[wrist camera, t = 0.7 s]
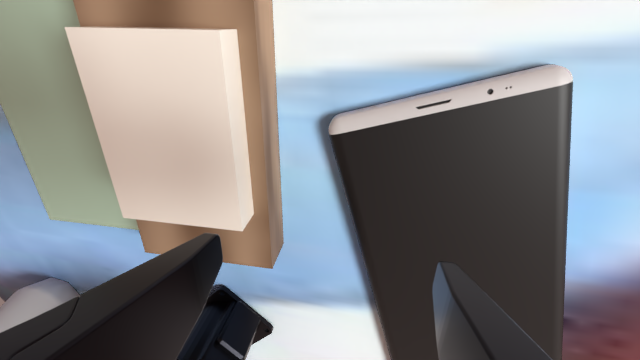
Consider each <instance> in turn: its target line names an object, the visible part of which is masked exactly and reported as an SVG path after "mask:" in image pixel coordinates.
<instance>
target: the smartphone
mask: <svg viewBox="0 0 640 360" xmlns="http://www.w3.org/2000/svg"><path fill="white" fill-rule="evenodd" d="M572 91H573V77H572V74H571V72H570V71H569V70H568V69H567V68H565V67H562V66H558V65H553V64H549V65H544V66H540V67H535V68H531V69H527V70H523V71H518V72H514V73H510V74H506V75H501V76H497V77H493V78H489V79H484V80H480V81H476V82H472V83H467V84H463V85H459V86H455V87H450V88H446V89H442V90H438V91H433V92H429V93H425V94H421V95H416V96H412V97H408V98H404V99H399V100H395V101H391V102H387V103H382V104H378V105H374V106H370V107H365V108H361V109H357V110H353V111H348V112H344V113H340V114H338V115H336V116H335V117H334V118H333V119H332V121H331V122H330V125H329V129H328V131H329V136H330V140H331V143H332V147H333V151H334V154H335V158H336V161H337V165H338V169H339V172H340V176H341V179H342V184H343V188H344V191H345V195H346V198H347V202H348V205H349V208H350V213H351V217H352V220H353V224H354V227H355V231H356V234H357V237H358V241H359V245H360V248H361V252H362V256H363V260H364V263H365V267H366V270H367V273H368V277H369V281H370V284H371V288H372V292H373V295H374V299H375V302H376V306H377V310H378V313H379V317H380V321H381V324H382V328H383V331H384V335H385V339H386V342H387V346H388V349H389V353H390V357H391V360H439V356H438V350H437V341H436V330H435V318H434V306H433V293H432V289H433V282H434V277H435V273H436V269H437V265H438V263H439V262H440V261H446V262H454V263H456V264H457V265H458V266H459V267H460V268H461V269H462V270H463V271H464V272H465V273H466V274H467V275H468V276H469V277H470V278H471V279H472V280H473V281H474V282H475V283H476V284H477V285H478V286H479V287H480V288H481V289H482V290H483V291H484V292H485V293H486V294H487V295H488V296H489V297H490V298H491V299H492V300H493V301H494V302H495V303H496V304H497V305H498V306H499V307H500V308H501V309H502V310H503V311H504V312H505V313H506V314H507V315H508V316H509V317H510V318H511V319H512V320H513V321H514V322H515V323H516V324H517V325H518V326H519V327H520V328H521V329H522V330H523V331H524V332H525V333H526V334H527V335H528V336H529V337H530V338H531V339H532V340H533V341H534V342H535V343H536V344H537V345H538V346H539V347H540V348H541V349H542V350H543V351H544V352H545V353H546V354H547V355H548V356H549V357H550V358H551V359H552V360H562V340H563V315H564V290H565V265H566V240H567V216H568V191H569V166H570V141H571V116H572Z"/></svg>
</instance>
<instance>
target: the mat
mask: <svg viewBox="0 0 640 360" xmlns="http://www.w3.org/2000/svg"><path fill="white" fill-rule="evenodd" d="M65 27H80V23H79V20H78V16H77V13H76V9H75V6H74V2H73V0H0V104H1V106H2V108H3V111H4V113H5V115H6V118H7V120H8V122H9V125H10V127H11V129H12V132H13V134H14V136H15V139H16V141H17V143H18V146H19V148H20V150H21V153H22V155H23V157H24V160H25V162H26V164H27V167H28V169H29V171H30V174H31V176H32V178H33V181H34V183H35V185H36V188H37V190H38V192H39V195H40V197H41V199H42V202H43V204H44V206H45V209H46V211H47V213H48V216H49V218H50V219H51V220H60V221H68V222H76V223H85V224H93V225H102V226H110V227H118V228H127V229H135V230H139V228H138V225H137V221H136V219H129V218H123V216H122V212H121V209H120V206H119V203H118V199H117V196H116V193H115V190H114V186H113V183H112V180H111V177H110V173H109V170H108V167H107V164H106V160H105V157H104V154H103V151H102V147H101V144H100V141H99V138H98V134H97V131H96V128H95V125H94V121H93V118H92V115H91V112H90V108H89V105H88V102H87V99H86V95H85V92H84V89H83V86H82V82H81V79H80V76H79V73H78V69H77V66H76V63H75V60H74V56H73V53H72V50H71V47H70V43H69V40H68V37H67V34H66V30H65Z"/></svg>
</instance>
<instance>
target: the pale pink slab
mask: <svg viewBox="0 0 640 360" xmlns="http://www.w3.org/2000/svg"><path fill="white" fill-rule="evenodd" d="M65 30H66V34H67V37H68V40H69V43H70V47H71V50H72V53H73V56H74V60H75V63H76V66H77V69H78V73H79V76H80V79H81V82H82V86H83V89H84V92H85V95H86V99H87V102H88V105H89V108H90V112H91V115H92V118H93V121H94V125H95V128H96V131H97V134H98V138H99V141H100V144H101V147H102V151H103V154H104V157H105V160H106V164H107V167H108V170H109V173H110V177H111V180H112V183H113V186H114V190H115V193H116V196H117V199H118V203H119V206H120V209H121V212H122V216H123V218H129V219H138V220H147V221H155V222H164V223H173V224H182V225H190V226H199V227H208V228H217V229H225V230H234V231H243V230H244V228H245V227H246V225H247V224H248V222H249V221H250V219H251V218H252V216H253V215H254V209H253V198H252V187H251V176H250V166H249V155H248V144H247V133H246V123H245V112H244V101H243V90H242V79H241V69H240V58H239V47H238V36H237V29H208V28H154V27H100V26H93V27H65Z"/></svg>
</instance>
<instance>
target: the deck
mask: <svg viewBox="0 0 640 360" xmlns="http://www.w3.org/2000/svg"><path fill="white" fill-rule="evenodd" d="M73 2H74V6H75V9H76V13H77V16H78V20H79V23H80V27H93V26H100V27H154V28H208V29H237V36H238V47H239V58H240V69H241V79H242V90H243V101H244V112H245V123H246V133H247V144H248V155H249V166H250V176H251V187H252V198H253V209H254V215H253V216H252V218H251V219H250V221H249V222H248V224H247V225H246V227H245V228H244V230H243V231H234V230H225V229H217V228H208V227H199V226H190V225H182V224H173V223H164V222H155V221H147V220H138V219H136V221H137V225H138V228H139V232H140V235H141V239H142V242H143V246H144V249H145V252H148V253H155V254H163V253H165V252H167V251H169V250H171V249H173V248H175V247H177V246H179V245H181V244H183V243H185V242H187V241H189V240H191V239H193V238H195V237H197V236H199V235H201V234H203V233H213V234H218V235H219V236H220V239H221V246H222V253H223V262H225V263H232V264H240V265H248V266H255V267H263V268H271V269H272V268H273V266H274V264H275V261H276V259H277V257H278V255H279V252H280V250H281V248H282V245H283V243H284V242H283V221H282V200H281V179H280V157H279V136H278V115H277V93H276V72H275V51H274V29H273V8H272V0H73Z"/></svg>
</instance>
